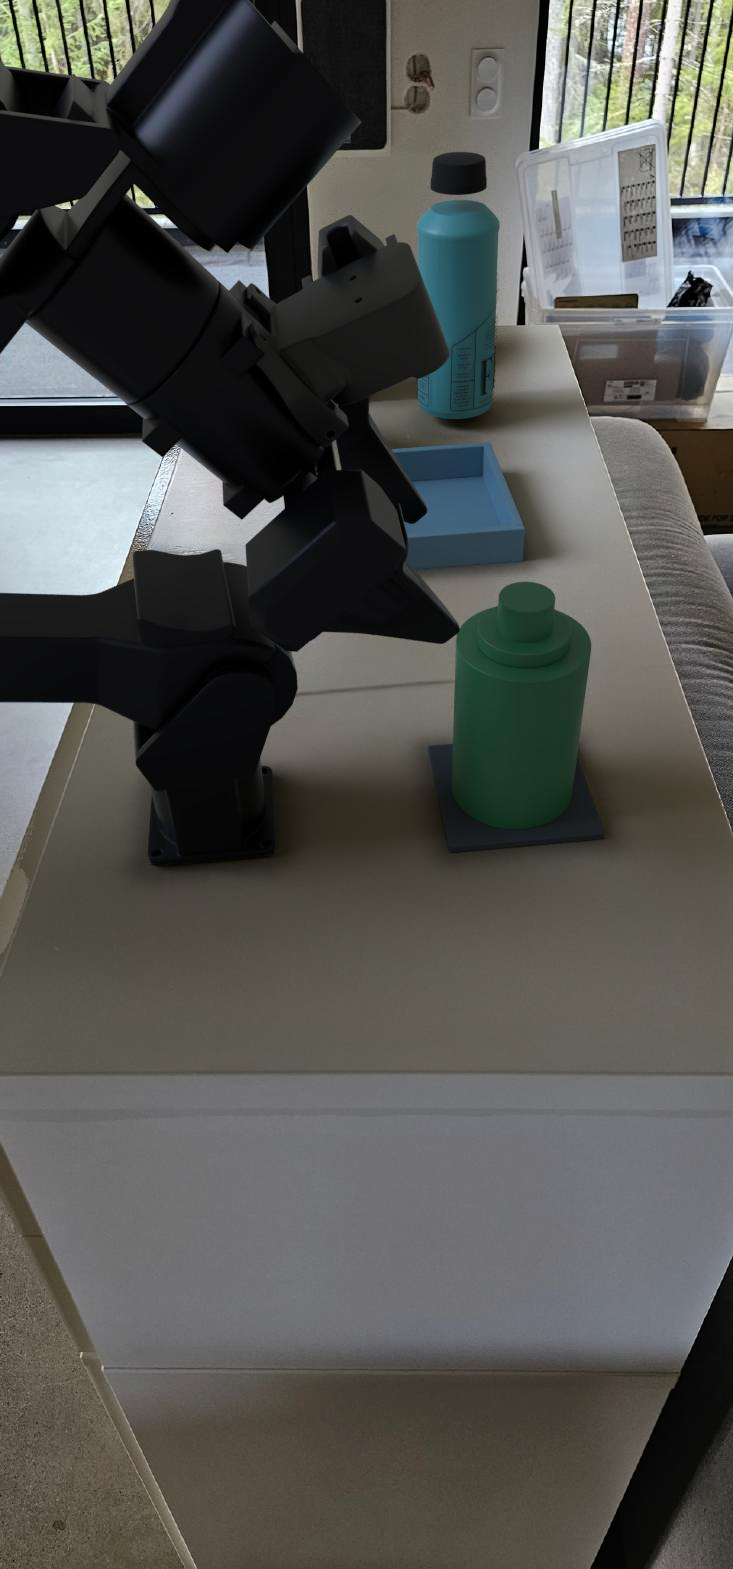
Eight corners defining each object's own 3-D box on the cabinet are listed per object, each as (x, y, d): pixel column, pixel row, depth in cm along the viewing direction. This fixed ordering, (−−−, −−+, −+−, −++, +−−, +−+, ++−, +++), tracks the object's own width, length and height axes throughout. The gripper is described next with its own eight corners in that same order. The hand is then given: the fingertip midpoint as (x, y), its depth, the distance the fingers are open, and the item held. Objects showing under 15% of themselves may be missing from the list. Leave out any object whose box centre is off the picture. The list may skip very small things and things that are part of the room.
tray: (522, 566, 76) (525, 528, 74) (346, 580, 75) (344, 542, 73) (488, 477, 85) (490, 441, 83) (332, 488, 85) (330, 453, 83)
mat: (604, 838, 56) (605, 833, 56) (449, 853, 56) (449, 847, 56) (568, 738, 62) (569, 733, 62) (428, 750, 62) (428, 745, 61)
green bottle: (500, 847, 55) (514, 653, 47) (428, 776, 60) (430, 587, 51) (597, 798, 58) (626, 606, 50) (521, 733, 62) (537, 546, 54)
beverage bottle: (488, 440, 90) (501, 168, 77) (408, 435, 91) (407, 166, 78) (497, 406, 95) (511, 145, 81) (421, 402, 96) (422, 143, 82)
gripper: (349, 290, 32) (638, 588, 41) (301, 97, 44) (530, 357, 53) (107, 533, 37) (414, 751, 46) (127, 296, 49) (364, 503, 58)
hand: (435, 572), depth 51 cm, fingers open, 9 cm apart
